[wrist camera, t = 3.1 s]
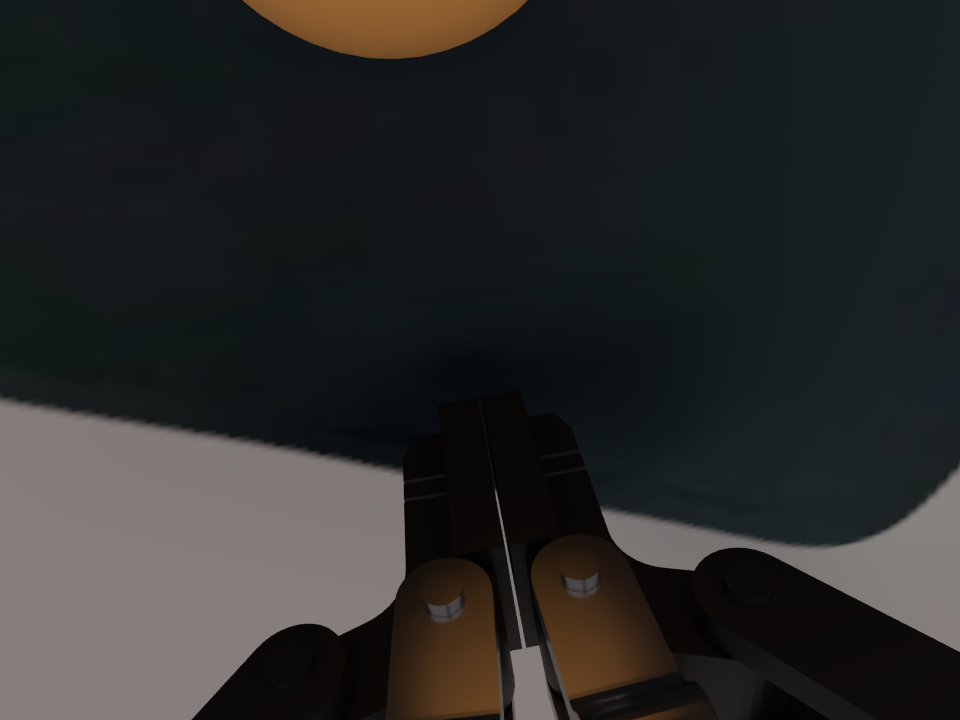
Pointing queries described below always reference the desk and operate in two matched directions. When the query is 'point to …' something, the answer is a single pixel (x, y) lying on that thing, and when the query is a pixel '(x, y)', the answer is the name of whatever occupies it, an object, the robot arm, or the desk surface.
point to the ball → (386, 23)
